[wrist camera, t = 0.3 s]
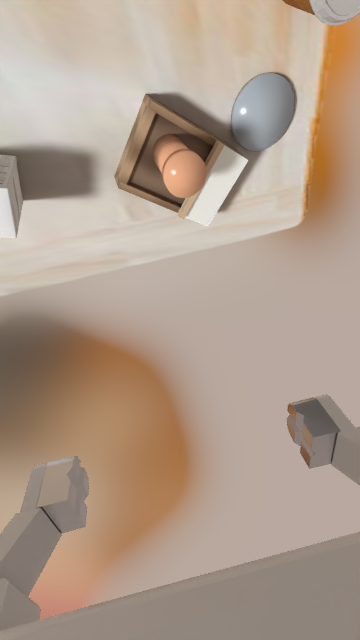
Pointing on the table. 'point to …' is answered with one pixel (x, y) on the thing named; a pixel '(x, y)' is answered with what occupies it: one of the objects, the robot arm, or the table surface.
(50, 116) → the table surface
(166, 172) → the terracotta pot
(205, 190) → the lid panel
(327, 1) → the disposable coffee cup
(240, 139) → the saucer
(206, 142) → the wooden box
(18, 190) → the supplement box
